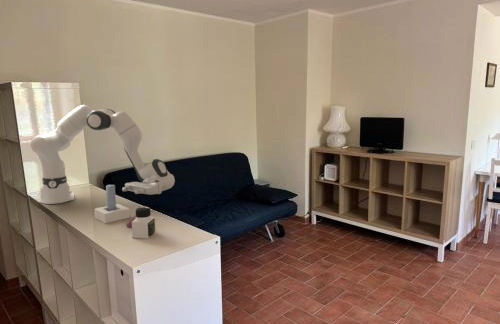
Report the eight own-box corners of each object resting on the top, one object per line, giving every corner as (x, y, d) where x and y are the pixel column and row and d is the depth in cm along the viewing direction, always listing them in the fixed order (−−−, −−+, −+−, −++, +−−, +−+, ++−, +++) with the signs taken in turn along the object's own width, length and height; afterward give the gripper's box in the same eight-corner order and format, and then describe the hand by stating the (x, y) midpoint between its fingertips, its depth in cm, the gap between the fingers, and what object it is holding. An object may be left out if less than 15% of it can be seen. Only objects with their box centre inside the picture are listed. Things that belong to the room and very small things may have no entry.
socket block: (94, 217, 168) (94, 208, 168) (118, 212, 177) (118, 203, 176) (105, 223, 160) (104, 214, 159) (129, 217, 169) (129, 208, 168)
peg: (108, 216, 170) (106, 185, 167) (116, 216, 171) (115, 184, 168) (107, 219, 166) (105, 186, 164) (116, 218, 167) (114, 186, 165)
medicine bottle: (148, 239, 141) (147, 210, 140) (132, 238, 142) (130, 210, 140) (155, 232, 148) (154, 205, 147) (139, 232, 149) (138, 205, 147)
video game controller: (144, 234, 151) (150, 218, 152) (136, 232, 148) (142, 216, 149) (133, 228, 158) (139, 214, 159) (124, 226, 154) (130, 211, 156)
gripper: (136, 178, 192) (115, 182, 181) (163, 182, 181) (142, 187, 170) (137, 189, 193) (116, 194, 181) (163, 193, 182) (142, 199, 171)
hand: (129, 191), depth 176 cm, fingers open, 8 cm apart
